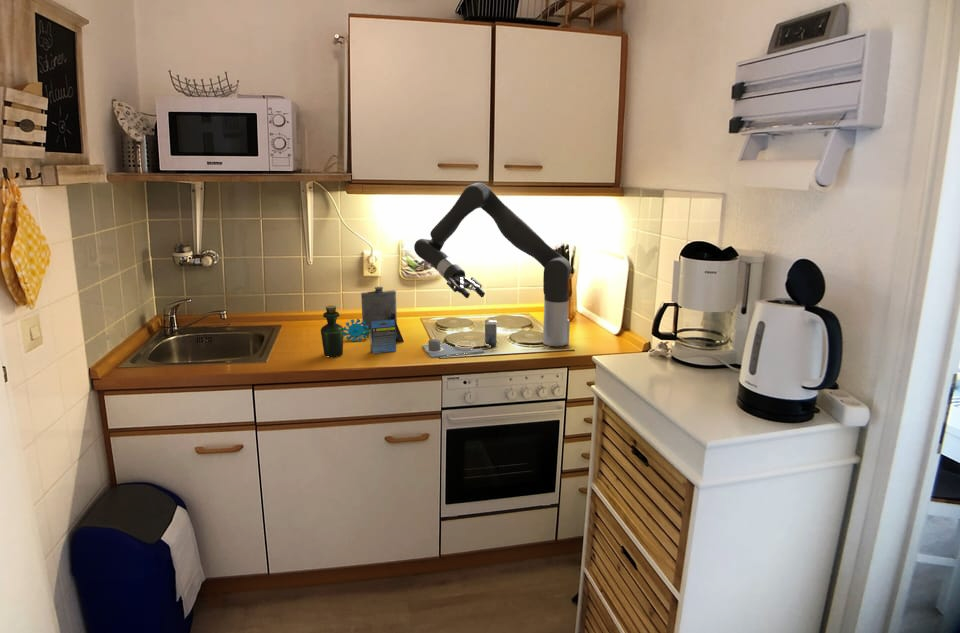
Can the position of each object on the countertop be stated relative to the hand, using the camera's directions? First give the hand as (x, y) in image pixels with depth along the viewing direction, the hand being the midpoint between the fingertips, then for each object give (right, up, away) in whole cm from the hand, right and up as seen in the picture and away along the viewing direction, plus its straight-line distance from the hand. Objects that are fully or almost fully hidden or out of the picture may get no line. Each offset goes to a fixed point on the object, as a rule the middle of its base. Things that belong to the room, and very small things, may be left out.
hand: (476, 295), depth 240 cm
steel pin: (+6, -19, 0) cm, 20 cm away
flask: (-40, -13, +22) cm, 48 cm away
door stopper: (-33, -18, +6) cm, 38 cm away
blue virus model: (-47, -17, +8) cm, 50 cm away
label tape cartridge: (-34, -21, -6) cm, 41 cm away
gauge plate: (-9, -20, -4) cm, 22 cm away
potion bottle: (-52, -22, -11) cm, 57 cm away
